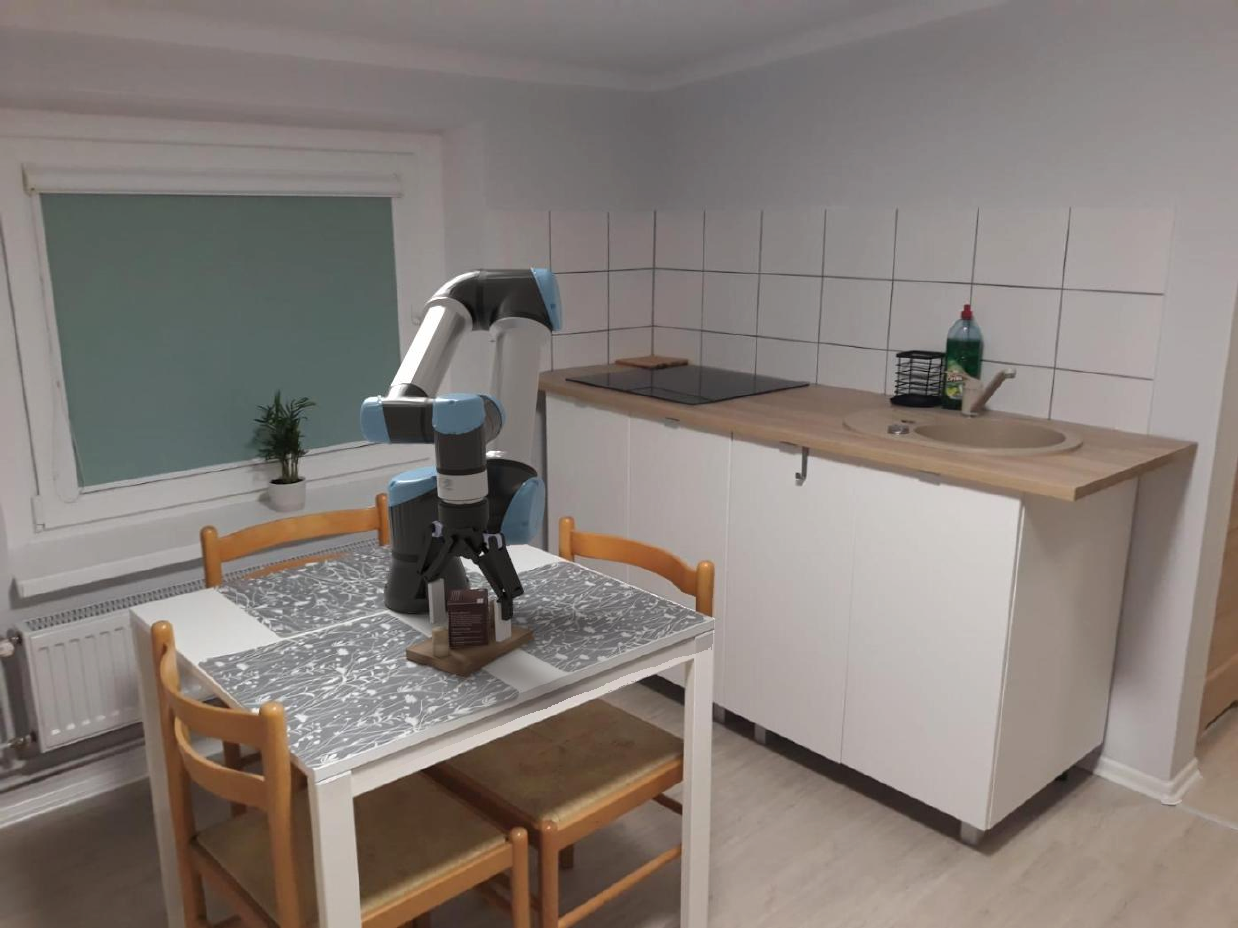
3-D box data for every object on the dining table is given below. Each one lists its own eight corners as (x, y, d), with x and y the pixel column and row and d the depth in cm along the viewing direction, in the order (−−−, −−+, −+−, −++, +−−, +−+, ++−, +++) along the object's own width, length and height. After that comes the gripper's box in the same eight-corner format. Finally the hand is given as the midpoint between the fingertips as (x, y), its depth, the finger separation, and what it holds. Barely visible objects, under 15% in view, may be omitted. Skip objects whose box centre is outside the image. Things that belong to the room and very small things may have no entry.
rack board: (406, 658, 150) (403, 624, 149) (476, 623, 163) (474, 592, 162) (464, 676, 144) (463, 642, 142) (533, 638, 156) (532, 606, 155)
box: (452, 632, 156) (449, 589, 154) (490, 631, 156) (488, 587, 154) (448, 648, 150) (446, 603, 148) (488, 647, 150) (486, 602, 148)
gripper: (386, 491, 151) (395, 620, 156) (511, 515, 138) (516, 655, 143) (421, 481, 157) (428, 605, 162) (544, 503, 144) (548, 637, 149)
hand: (470, 629), depth 153 cm, fingers open, 13 cm apart
